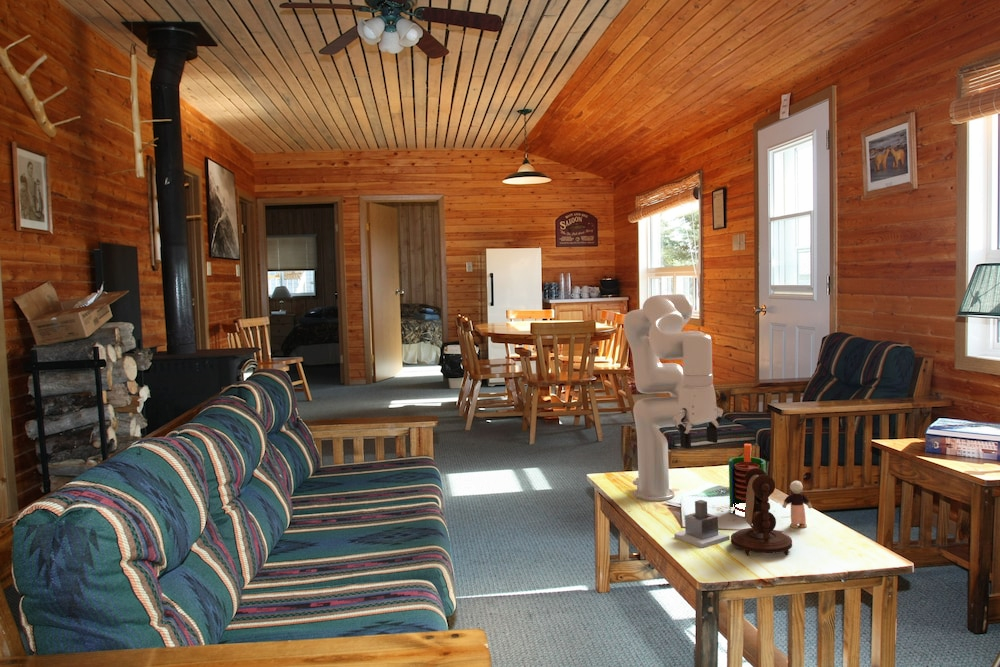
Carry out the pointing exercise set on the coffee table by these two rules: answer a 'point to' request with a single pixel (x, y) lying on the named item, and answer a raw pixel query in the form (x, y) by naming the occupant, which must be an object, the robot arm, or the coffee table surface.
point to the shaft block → (699, 513)
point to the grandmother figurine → (797, 505)
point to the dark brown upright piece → (760, 518)
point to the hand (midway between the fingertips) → (699, 444)
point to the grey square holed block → (701, 526)
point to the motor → (742, 475)
